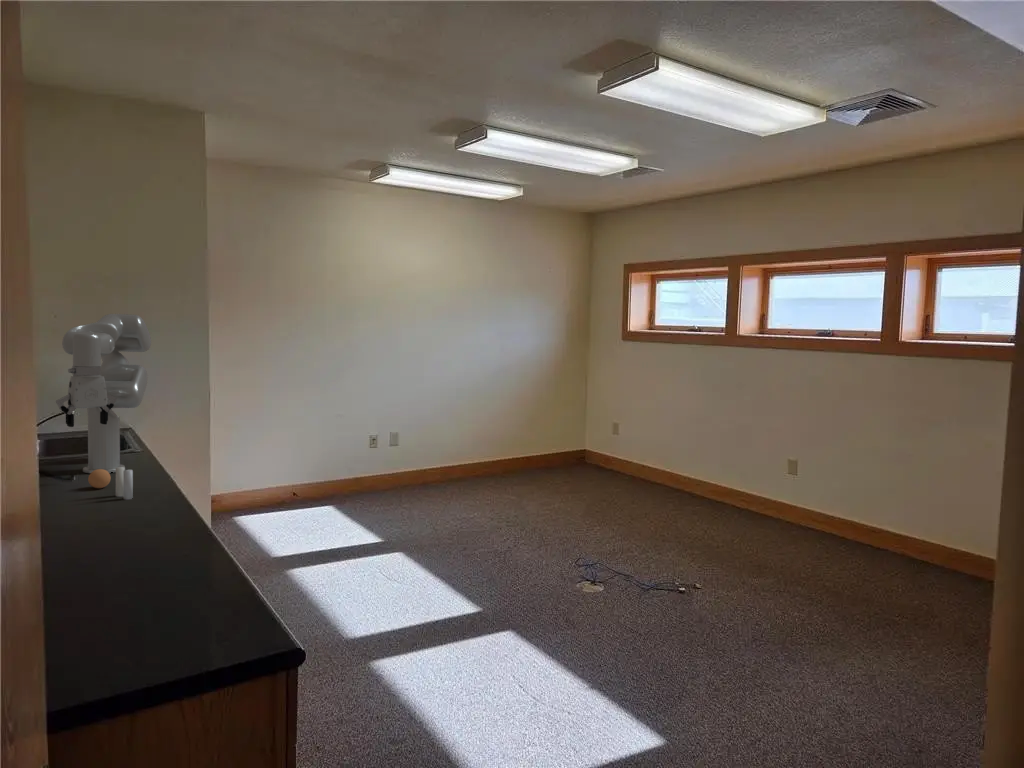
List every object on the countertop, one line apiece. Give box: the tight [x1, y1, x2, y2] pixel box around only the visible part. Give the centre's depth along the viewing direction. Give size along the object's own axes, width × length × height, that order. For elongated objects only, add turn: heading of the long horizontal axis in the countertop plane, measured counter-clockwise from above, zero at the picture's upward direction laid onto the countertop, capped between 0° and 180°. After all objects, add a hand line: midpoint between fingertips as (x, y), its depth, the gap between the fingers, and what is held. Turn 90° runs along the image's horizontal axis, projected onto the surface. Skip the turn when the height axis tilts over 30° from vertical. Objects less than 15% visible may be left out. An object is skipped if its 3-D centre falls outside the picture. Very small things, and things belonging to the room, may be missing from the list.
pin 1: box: [115, 467, 126, 498], centre depth 201 cm, size 2×2×8 cm
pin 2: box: [123, 469, 134, 501], centre depth 198 cm, size 2×2×8 cm
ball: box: [87, 469, 112, 489], centre depth 209 cm, size 6×6×6 cm
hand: (87, 425), depth 213 cm, fingers open, 9 cm apart
